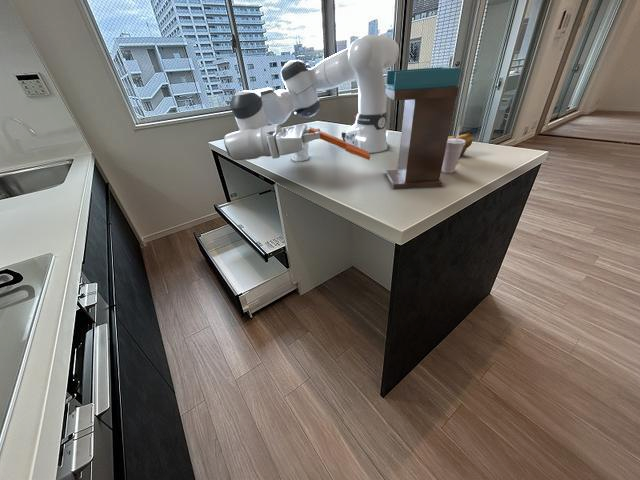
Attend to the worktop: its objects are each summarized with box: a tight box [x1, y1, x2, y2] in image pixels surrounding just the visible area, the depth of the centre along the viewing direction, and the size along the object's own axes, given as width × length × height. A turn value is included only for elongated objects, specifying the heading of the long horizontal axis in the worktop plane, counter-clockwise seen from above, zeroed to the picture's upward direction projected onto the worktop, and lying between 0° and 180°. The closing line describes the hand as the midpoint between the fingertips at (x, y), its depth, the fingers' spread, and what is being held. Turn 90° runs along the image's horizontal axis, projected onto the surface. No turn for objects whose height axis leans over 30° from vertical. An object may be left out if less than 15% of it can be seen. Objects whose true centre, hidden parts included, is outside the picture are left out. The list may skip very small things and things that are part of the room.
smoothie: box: [441, 125, 466, 174], centre depth 82 cm, size 6×6×14 cm
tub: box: [385, 66, 462, 91], centre depth 67 cm, size 15×11×4 cm
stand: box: [385, 86, 460, 190], centre depth 75 cm, size 16×13×26 cm
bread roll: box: [448, 133, 474, 157], centre depth 97 cm, size 13×10×8 cm
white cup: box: [291, 142, 310, 162], centre depth 105 cm, size 8×8×10 cm
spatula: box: [308, 126, 371, 161], centre depth 80 cm, size 20×6×2 cm, turn 88°
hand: (320, 133), depth 79 cm, fingers closed on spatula, 3 cm apart
